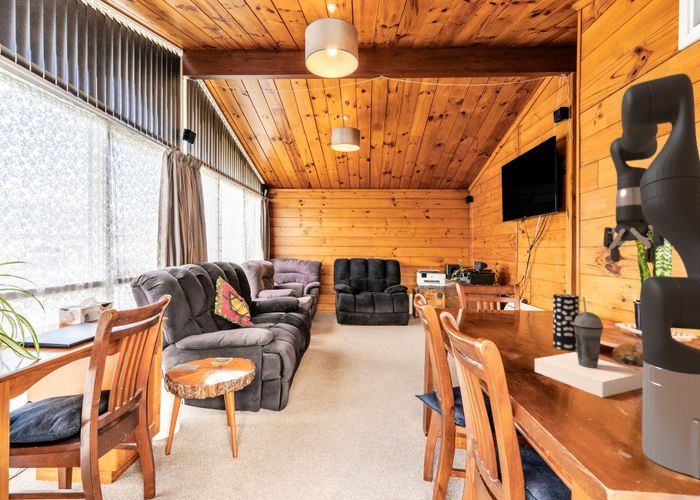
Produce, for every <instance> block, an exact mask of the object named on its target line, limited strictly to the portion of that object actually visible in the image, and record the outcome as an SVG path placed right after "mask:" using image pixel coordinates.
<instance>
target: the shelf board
mask: <svg viewBox="0 0 700 500" xmlns="http://www.w3.org/2000/svg"><path fill="white" fill-rule="evenodd" d="M534 372H535V373H537V374H539V375H543V376H545V377H547V378H550V379H553V380H555V381H558V382H561V383H562V384H566V385H568V386H571V387H573V388H577V389H579V390H582V391H583V392H587V393H589V394H592V395H594V396H597V397H600V398H602V399H603V398H607V397H611V396H614V395H618V394H619V395H620V394H622V393H623V394H624V393H626V392H631V391H636V390H639V389H643V370H638V369H634V368H630V367H627V366H625V365H624V366H623V365H620V364H617V363H614V362H611V361H607V360H603V359H600V358H599V359H598V365H597V368H586V367H583V366H580V365H579V362H578V355H577V351H571V352H568V353H562V354H560V353H559V354H555V355H550V356H543V357H537V358H534Z"/></svg>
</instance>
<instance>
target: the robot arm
mask: <svg viewBox="0 0 700 500" xmlns="http://www.w3.org/2000/svg"><path fill="white" fill-rule="evenodd" d="M620 107H621V109H620V110H621V111H620V115H621V116H620V118H621V120H620V121H621V129H622V132H621V136H620V137H618V138H615V139H614V140H613V141H612V142H611V144H610V147H609V154H610V157H611V159H612V163H613V164H614V167H615V172H616V196H615V223H616V226H615V227H610V226H605V227H604V229H603V230H604V231H603V232H604V233H603V243H602V244H603V247H605V248H608V249H610V260H611V262H613V263H620V256H621V253H620V248H621V247H622V245H624V244H625V243H626V242H632V241H637V242H640V243H641V244H643V245H644V247H645V249H644V262H645V263H648V264H649V263H651V264H652V263H653V262H654V261H655V259H656V249H657V248H660V247H664V246H665V241H666V242H667V243H668V244H670V245H671V246H672V248H673V249H674V250H675V251H676V253H677V254H678V256H679V258H680V259H681V261H682V263H683V267H684V270H685V272H686V276H649V277H647V278H646V279H645V280H644V281H643V282H642V283H641V288H640V295H639V301H640V302H639V303H640V305H639V306H640V307H639V308H640V318H641V345H642V346H641V347H642V348H643V366H642V372H643V388H642V415H641V416H642V417H641V418H642V420H641V421H642V424H641V425H642V429H641V431H642V434H641V435H642V436H641V441H642V443H641V444H642V448H641V449H642V453H643V454H644V455H645V457H646V458H648V459H649V460H651V461H652V462H654V463H656V464H658V465H660V466H661V467H663V468H666V469H669V470H671V471H675V472H677V473H681V474H684V475H689V476H691V477H694V478H696V479H698V480H700V349H699V348H696V347H693V346H691V345H688V344H685V343H682V342H681V341H678V340H677V339H675V338H673V336H672V331H671V330H672V329H681V330H682V329H683V330H697V331H700V154H699V148H698V141H697V132H696V113H695V112H696V111H695V110H696V109H695V97H694V87H693V83H692V80H691V77H690V76H689V75H688V74H687V73H677V74H675V73H674V74H670V75H666V76H662V77H657V78H654V79H650V80H645V81H642V82H638V83H635V84H633V85H630V86H629V87H628V88H627V89H625V92H624V94H623V95H622V99H621V106H620ZM667 123H670V124H671V131H670V134H669V135H668V138H667V139H666V140H665V142H664V144H663V145H662V146H663V147H662V148H661V149H660V151H659V152H658V154H657V150H658V146H659V145H658V139H657V137H656V136H657V134H658V131H659V127H658V125H663V124H667ZM655 154H656V156H655ZM653 156H655V157H654V158H653ZM650 158H653V160H652V161H651V163H650V164H649V165H648V167H647V168H645V167H641V166H632V165H629V164H628V163H627V162H633V161H643V160H649V159H650ZM649 232H651V233H652V237H651V236H650V235H649V234H648V233H649ZM615 234H616V235H615ZM614 236H615V237H614Z"/></svg>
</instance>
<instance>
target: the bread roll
mask: <svg viewBox="0 0 700 500" xmlns="http://www.w3.org/2000/svg"><path fill="white" fill-rule="evenodd" d="M611 354H612V359H613V360H614V361H615V362H616V363H619V364H623V365H627V366H635V367H643V346H640V345H638V344H636V343H632V342H631V343H630V342H623V343H621V344H619V345H617V346H615V347H614V348H613V350H612V353H611Z"/></svg>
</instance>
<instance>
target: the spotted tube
mask: <svg viewBox="0 0 700 500" xmlns="http://www.w3.org/2000/svg"><path fill="white" fill-rule="evenodd" d="M552 295H553V297H552V298H553V299H552V300H553V301H552V302H553V303H552V304H553V305H552V308H553V310H552V323H553V324H552V347H553V348H555V349H558V350H562V351H568V352H577V345H576V334H575V330H574V325H573V324H574V320H575V318H576V317H577V316H578V315H579V314H580V297H579V295H576V294H565V293H564V294H563V293H556V294H552Z"/></svg>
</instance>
